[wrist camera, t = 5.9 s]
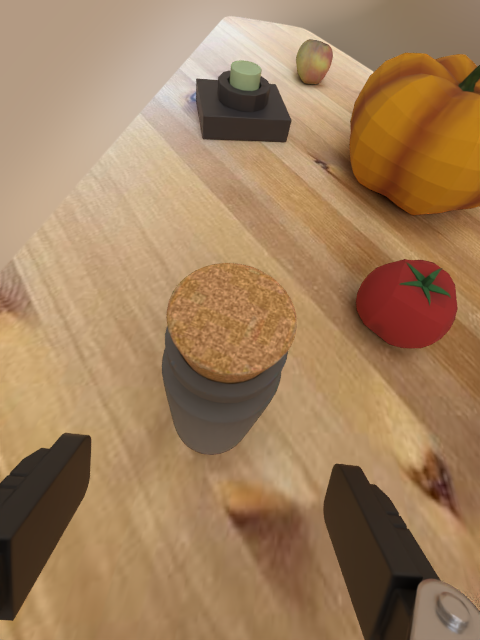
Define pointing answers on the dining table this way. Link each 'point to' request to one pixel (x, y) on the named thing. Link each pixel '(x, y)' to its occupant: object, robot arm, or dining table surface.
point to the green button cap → (245, 75)
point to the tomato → (408, 303)
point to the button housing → (241, 111)
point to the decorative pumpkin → (420, 133)
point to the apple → (313, 61)
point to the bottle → (224, 352)
